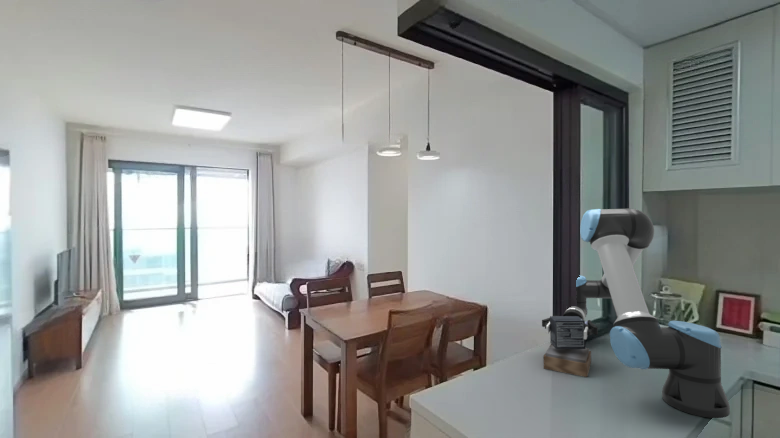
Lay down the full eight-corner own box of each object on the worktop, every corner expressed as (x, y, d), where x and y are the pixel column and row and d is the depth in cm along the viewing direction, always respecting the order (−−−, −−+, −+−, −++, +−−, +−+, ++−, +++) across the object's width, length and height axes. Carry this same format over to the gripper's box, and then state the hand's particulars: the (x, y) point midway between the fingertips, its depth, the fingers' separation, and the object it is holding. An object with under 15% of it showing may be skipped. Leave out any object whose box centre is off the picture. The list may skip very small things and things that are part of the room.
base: (591, 363, 137) (590, 348, 137) (587, 377, 125) (587, 361, 125) (550, 355, 145) (550, 341, 145) (543, 368, 133) (543, 353, 133)
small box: (578, 343, 138) (578, 315, 138) (586, 349, 131) (585, 320, 131) (549, 342, 139) (549, 315, 139) (555, 349, 132) (555, 320, 132)
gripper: (607, 331, 143) (604, 349, 125) (542, 322, 157) (530, 337, 138) (607, 312, 143) (603, 327, 125) (542, 305, 156) (530, 317, 138)
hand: (565, 332), depth 132 cm, fingers closed on small box, 12 cm apart
